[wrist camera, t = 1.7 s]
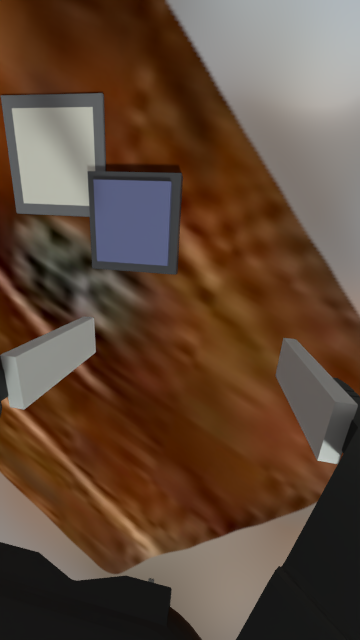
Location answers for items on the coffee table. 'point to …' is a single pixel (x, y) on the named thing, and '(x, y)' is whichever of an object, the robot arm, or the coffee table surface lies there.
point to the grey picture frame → (54, 150)
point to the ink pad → (135, 220)
